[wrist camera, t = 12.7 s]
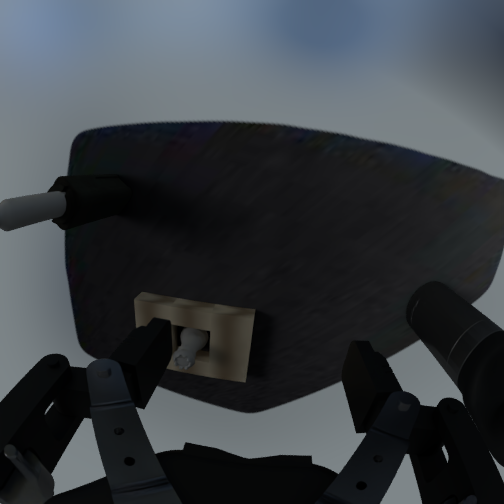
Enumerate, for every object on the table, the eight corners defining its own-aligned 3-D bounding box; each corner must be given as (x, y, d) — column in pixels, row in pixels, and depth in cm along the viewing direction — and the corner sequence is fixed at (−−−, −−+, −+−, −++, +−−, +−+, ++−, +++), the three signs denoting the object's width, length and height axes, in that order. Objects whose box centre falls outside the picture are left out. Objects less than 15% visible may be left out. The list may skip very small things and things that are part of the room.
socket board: (255, 309, 41) (253, 319, 38) (247, 371, 44) (245, 382, 41) (142, 291, 42) (134, 299, 39) (146, 352, 45) (140, 361, 42)
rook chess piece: (202, 349, 44) (190, 380, 36) (178, 336, 43) (162, 365, 36) (213, 331, 42) (202, 360, 35) (188, 317, 42) (173, 344, 34)
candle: (135, 192, 38) (-4, 218, 14) (116, 217, 39) (-15, 265, 15) (113, 171, 37) (-25, 179, 13) (96, 196, 38) (-36, 226, 14)
